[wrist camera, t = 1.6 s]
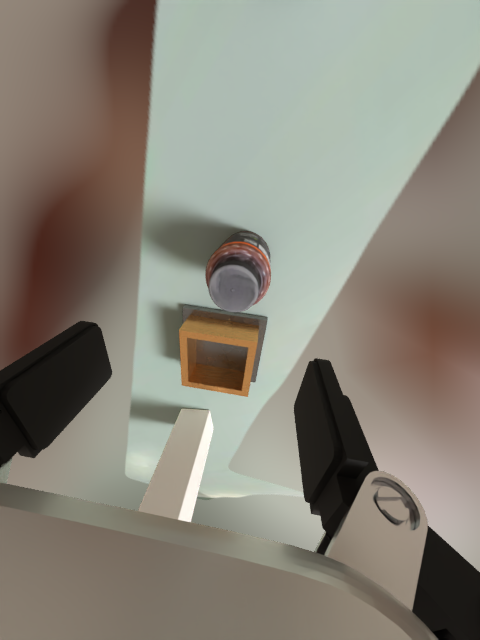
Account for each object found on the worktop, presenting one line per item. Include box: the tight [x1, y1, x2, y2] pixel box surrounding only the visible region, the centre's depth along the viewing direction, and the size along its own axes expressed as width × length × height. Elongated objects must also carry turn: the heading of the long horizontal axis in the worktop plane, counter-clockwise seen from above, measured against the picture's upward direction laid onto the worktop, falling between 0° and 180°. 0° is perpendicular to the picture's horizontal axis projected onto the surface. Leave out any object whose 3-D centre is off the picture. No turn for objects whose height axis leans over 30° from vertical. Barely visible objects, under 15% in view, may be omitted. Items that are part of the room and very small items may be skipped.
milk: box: [138, 409, 214, 522], centre depth 34 cm, size 6×6×22 cm
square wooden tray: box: [179, 305, 267, 397], centre depth 31 cm, size 12×12×5 cm
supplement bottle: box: [206, 231, 271, 312], centre depth 21 cm, size 6×6×11 cm
